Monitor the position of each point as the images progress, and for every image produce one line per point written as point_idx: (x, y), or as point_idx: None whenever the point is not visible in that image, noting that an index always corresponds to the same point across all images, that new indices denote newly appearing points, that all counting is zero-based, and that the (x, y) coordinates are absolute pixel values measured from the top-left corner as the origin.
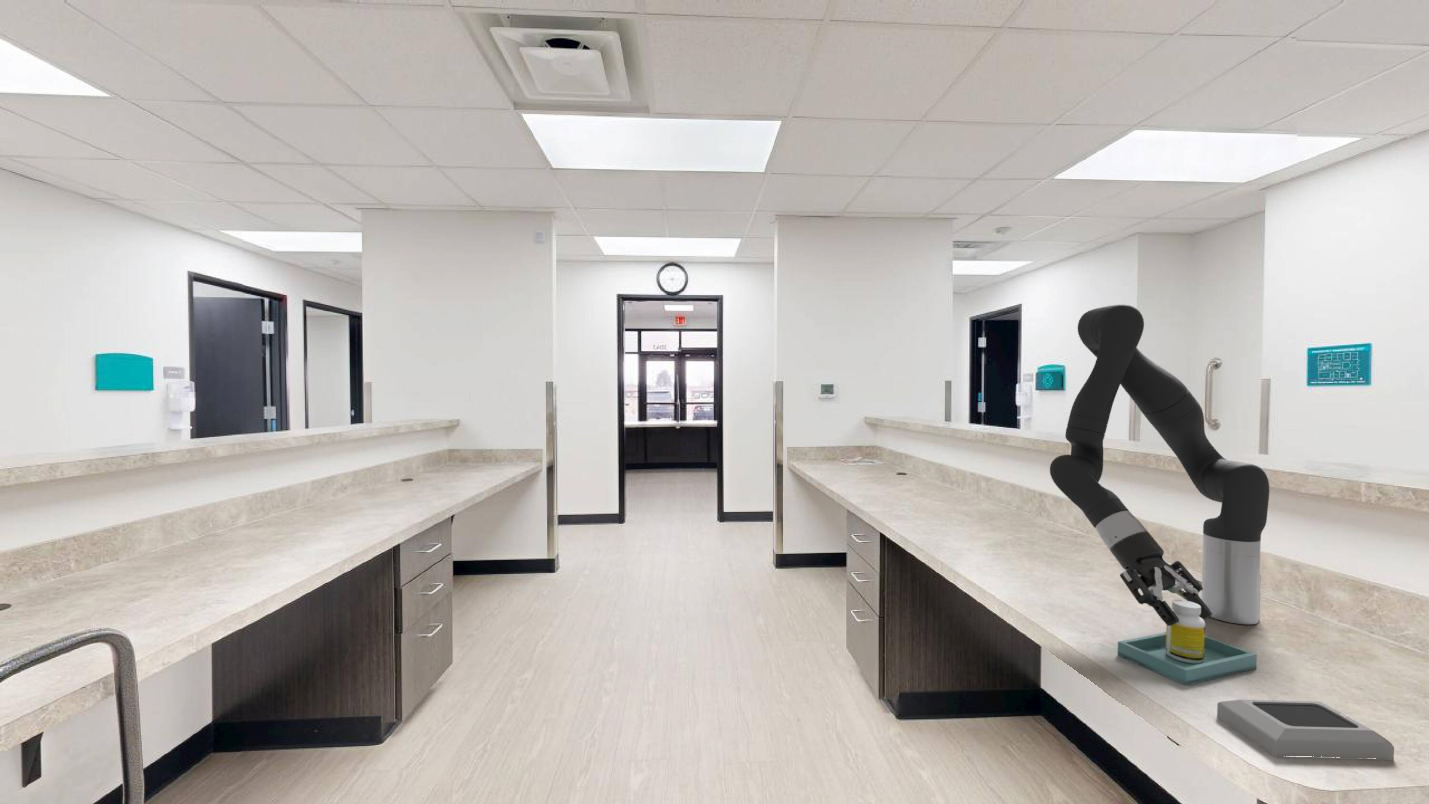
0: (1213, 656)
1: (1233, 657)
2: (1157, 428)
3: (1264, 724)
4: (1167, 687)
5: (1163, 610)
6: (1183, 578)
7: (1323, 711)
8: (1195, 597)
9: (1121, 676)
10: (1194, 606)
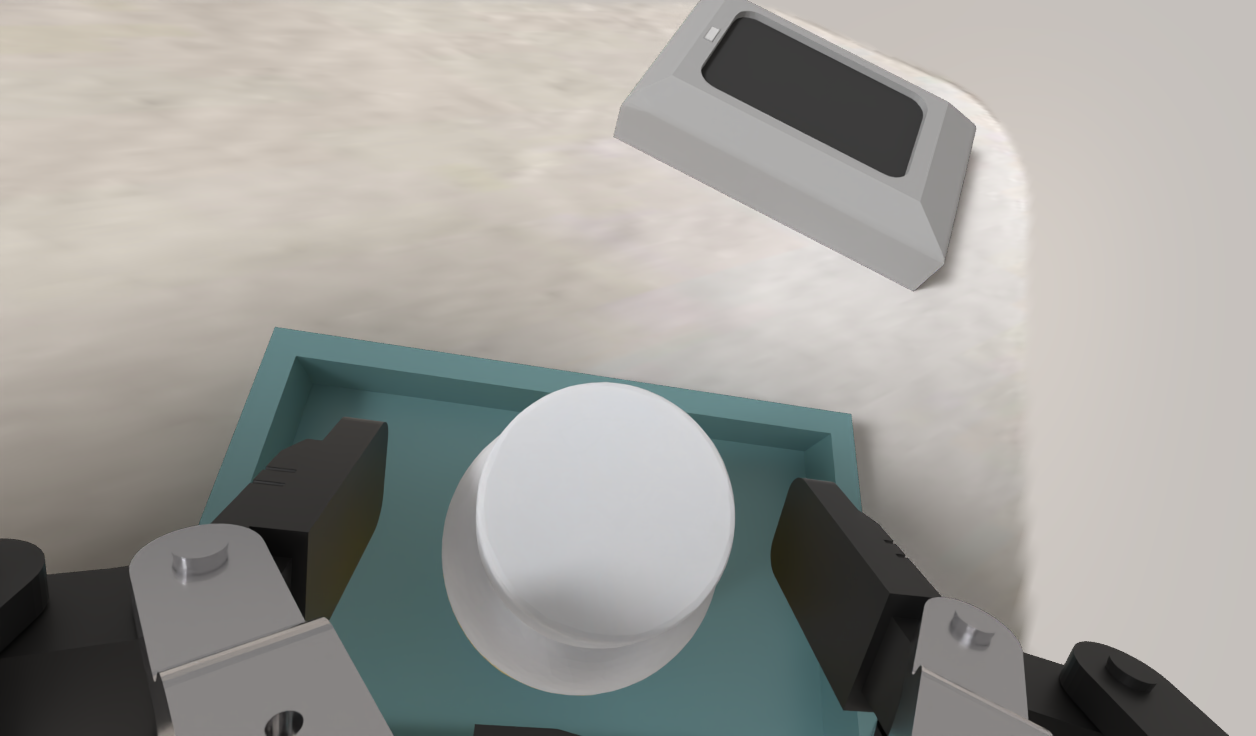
0: None
1: (460, 370)
2: None
3: (955, 146)
4: (901, 465)
5: (909, 566)
6: (186, 720)
7: (720, 71)
8: (319, 529)
9: (1015, 618)
10: (623, 418)
